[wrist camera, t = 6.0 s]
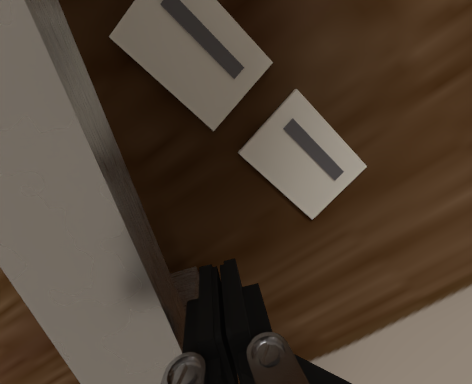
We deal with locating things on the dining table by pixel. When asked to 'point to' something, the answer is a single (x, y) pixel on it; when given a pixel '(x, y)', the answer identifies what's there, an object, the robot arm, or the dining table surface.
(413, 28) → the dining table surface
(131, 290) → the cable arm
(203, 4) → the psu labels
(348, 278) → the dining table surface
